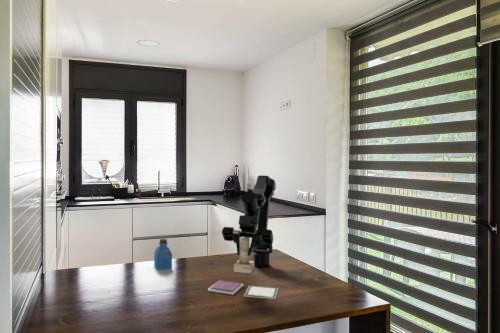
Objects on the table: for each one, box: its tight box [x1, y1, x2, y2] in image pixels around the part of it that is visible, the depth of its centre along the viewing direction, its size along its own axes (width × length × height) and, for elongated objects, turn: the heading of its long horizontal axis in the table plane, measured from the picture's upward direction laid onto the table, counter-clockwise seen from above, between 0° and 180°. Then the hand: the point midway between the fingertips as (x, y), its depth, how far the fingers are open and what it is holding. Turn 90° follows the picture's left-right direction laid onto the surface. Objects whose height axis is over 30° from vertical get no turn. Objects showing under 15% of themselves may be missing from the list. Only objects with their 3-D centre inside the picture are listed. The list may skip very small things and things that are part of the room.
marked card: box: [243, 285, 279, 300], centre depth 139 cm, size 11×11×1 cm
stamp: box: [233, 237, 255, 276], centre depth 140 cm, size 6×6×12 cm
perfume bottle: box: [153, 238, 173, 271], centre depth 167 cm, size 6×6×12 cm
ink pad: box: [207, 280, 245, 296], centre depth 142 cm, size 10×10×1 cm
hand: (243, 255), depth 138 cm, fingers closed on stamp, 4 cm apart
